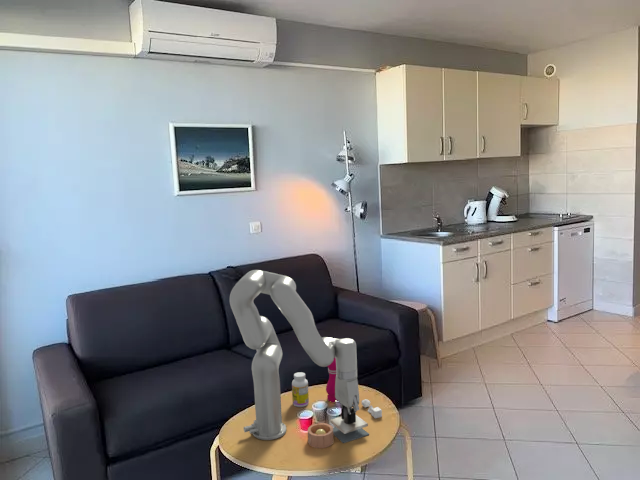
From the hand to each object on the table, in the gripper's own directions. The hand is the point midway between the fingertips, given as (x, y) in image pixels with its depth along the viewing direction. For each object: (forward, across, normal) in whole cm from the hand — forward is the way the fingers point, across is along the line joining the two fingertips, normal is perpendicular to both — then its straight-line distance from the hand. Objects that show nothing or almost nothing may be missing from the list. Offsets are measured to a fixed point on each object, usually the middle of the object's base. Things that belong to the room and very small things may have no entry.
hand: (348, 420), depth 194 cm
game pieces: (+5, -9, +16) cm, 19 cm away
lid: (+2, 0, 0) cm, 2 cm away
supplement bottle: (+5, -30, -5) cm, 31 cm away
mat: (+5, 0, 0) cm, 5 cm away
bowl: (+5, 0, -12) cm, 13 cm away
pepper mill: (+5, -26, +9) cm, 28 cm away
